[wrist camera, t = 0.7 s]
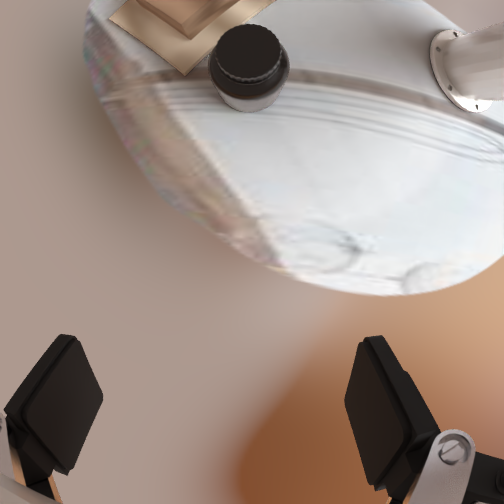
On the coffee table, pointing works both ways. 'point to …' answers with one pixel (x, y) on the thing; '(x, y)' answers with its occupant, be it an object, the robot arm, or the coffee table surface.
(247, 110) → the supplement bottle
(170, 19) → the walnut block
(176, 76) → the coffee table surface
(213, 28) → the board
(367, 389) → the robot arm
